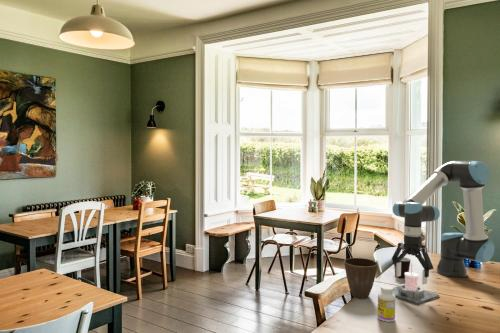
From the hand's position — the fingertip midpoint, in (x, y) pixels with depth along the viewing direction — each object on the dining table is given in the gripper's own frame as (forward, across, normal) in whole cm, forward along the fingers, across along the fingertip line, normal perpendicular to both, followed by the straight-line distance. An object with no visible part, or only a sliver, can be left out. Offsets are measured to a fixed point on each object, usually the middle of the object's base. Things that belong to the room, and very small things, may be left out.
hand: (411, 279), depth 184 cm
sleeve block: (+7, 0, 0) cm, 7 cm away
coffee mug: (+7, -20, +22) cm, 31 cm away
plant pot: (+7, -12, -22) cm, 26 cm away
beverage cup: (+6, 0, 0) cm, 6 cm away
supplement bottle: (+7, +11, -34) cm, 36 cm away
